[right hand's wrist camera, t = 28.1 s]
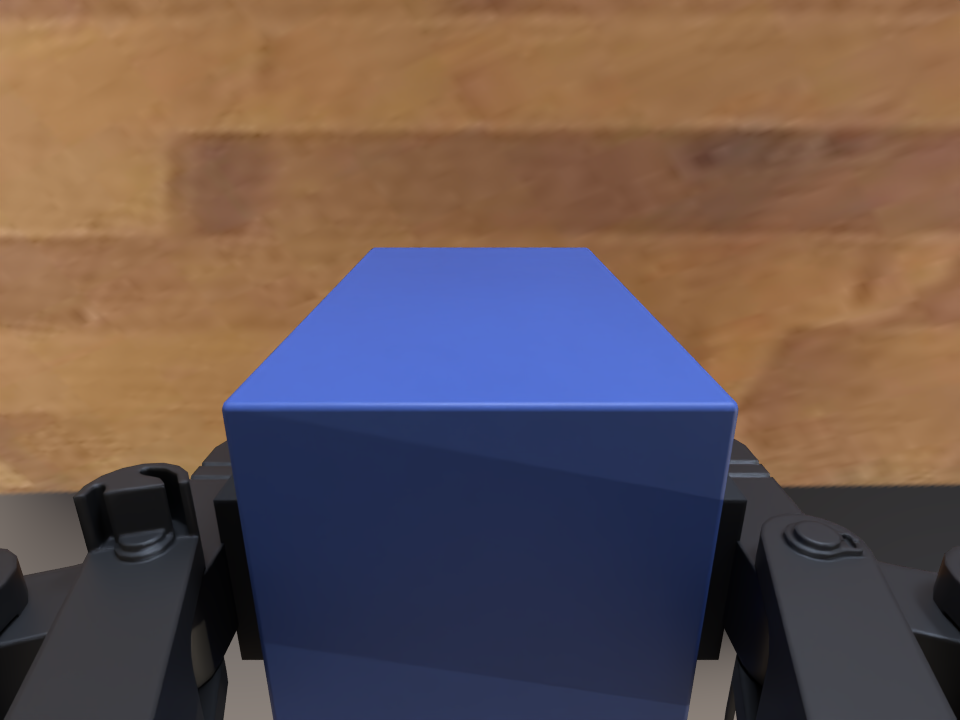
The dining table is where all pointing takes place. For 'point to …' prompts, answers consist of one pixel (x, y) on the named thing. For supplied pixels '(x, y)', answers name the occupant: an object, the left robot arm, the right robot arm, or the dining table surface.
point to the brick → (480, 494)
